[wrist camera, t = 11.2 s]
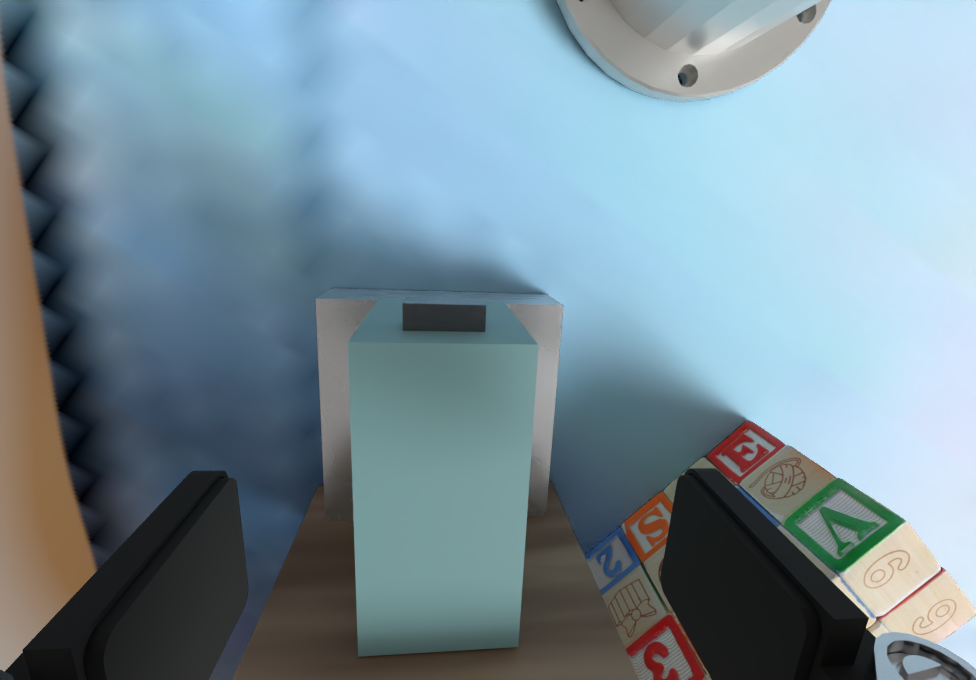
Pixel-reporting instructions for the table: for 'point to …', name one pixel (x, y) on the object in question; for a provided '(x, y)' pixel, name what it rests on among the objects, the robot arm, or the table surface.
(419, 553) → the teal cabinet
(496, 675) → the wooden bookend
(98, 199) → the table surface
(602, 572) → the stack of blocks
